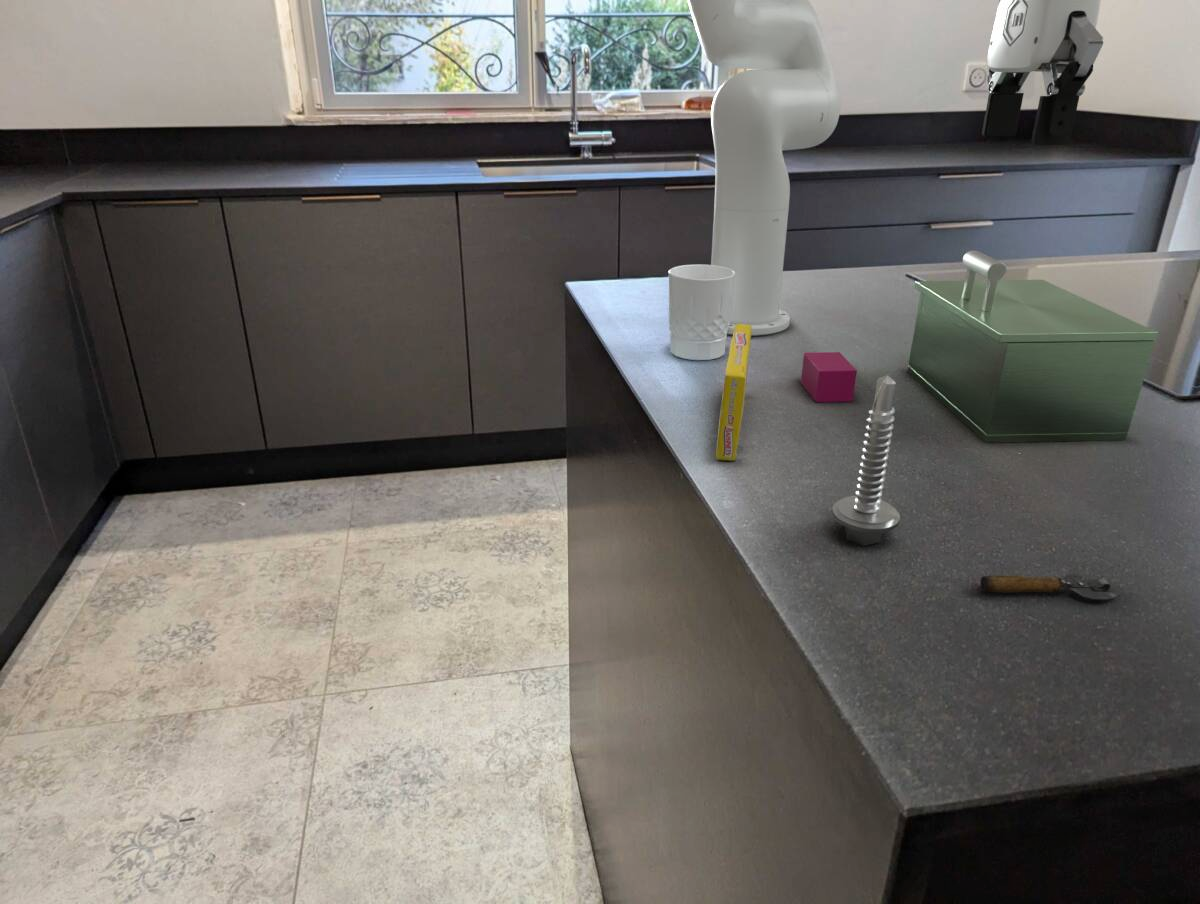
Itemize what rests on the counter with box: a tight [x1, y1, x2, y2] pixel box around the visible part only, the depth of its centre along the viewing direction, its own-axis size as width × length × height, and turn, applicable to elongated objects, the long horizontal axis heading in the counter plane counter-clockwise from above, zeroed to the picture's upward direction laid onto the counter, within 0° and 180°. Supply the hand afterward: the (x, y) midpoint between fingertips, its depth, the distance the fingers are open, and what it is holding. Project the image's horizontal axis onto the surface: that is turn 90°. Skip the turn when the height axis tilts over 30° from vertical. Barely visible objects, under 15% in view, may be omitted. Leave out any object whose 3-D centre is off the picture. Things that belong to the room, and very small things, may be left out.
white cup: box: [668, 263, 735, 361], centre depth 100 cm, size 8×8×10 cm
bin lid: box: [914, 250, 1159, 343], centre depth 81 cm, size 14×20×6 cm
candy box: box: [715, 324, 752, 462], centre depth 79 cm, size 16×2×8 cm, turn 168°
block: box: [800, 351, 858, 403], centre depth 89 cm, size 4×6×4 cm, turn 2°
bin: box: [906, 292, 1156, 444], centre depth 85 cm, size 14×20×10 cm
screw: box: [831, 374, 901, 547], centre depth 60 cm, size 13×5×5 cm
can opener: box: [980, 573, 1122, 601], centre depth 56 cm, size 9×2×1 cm, turn 83°
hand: (1022, 140), depth 78 cm, fingers open, 9 cm apart
